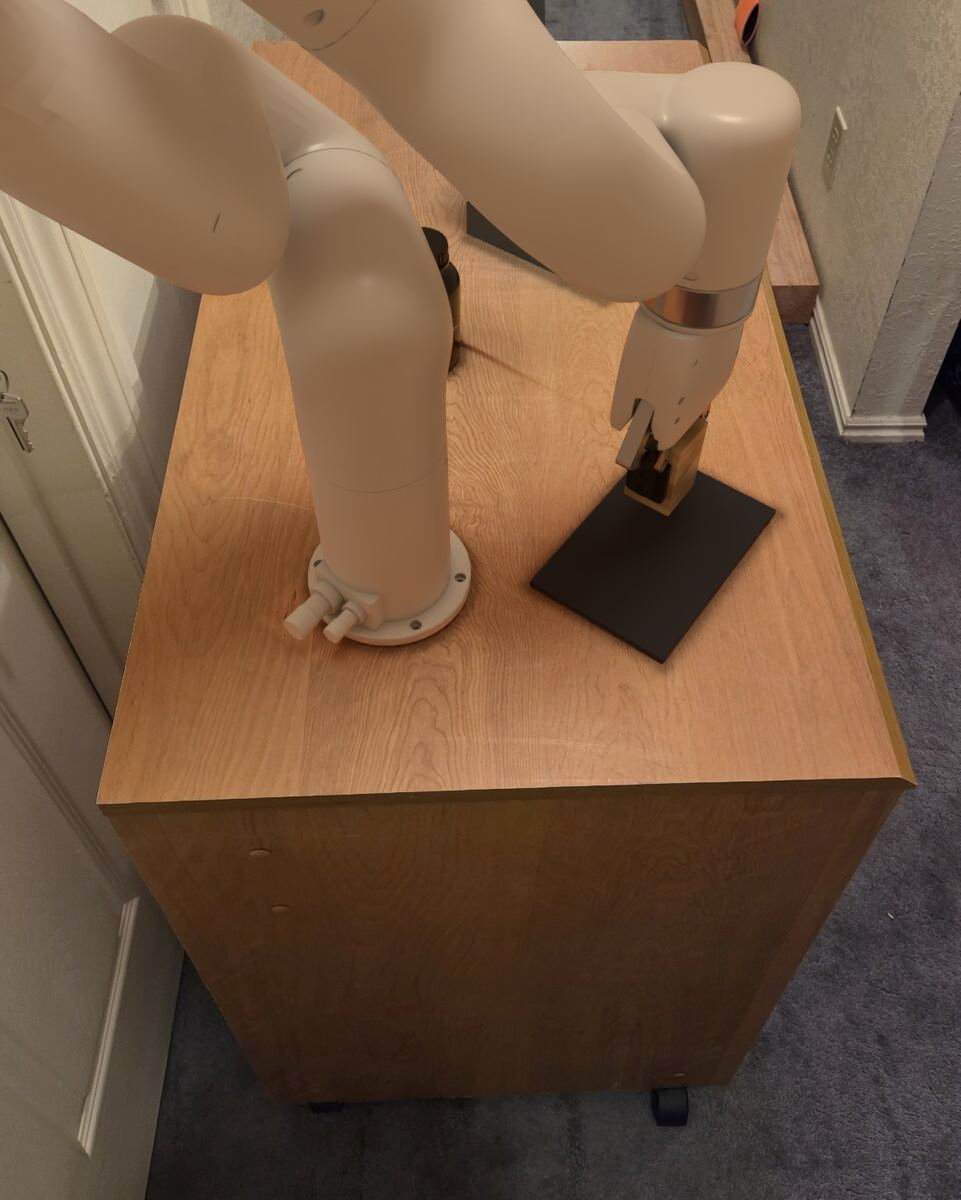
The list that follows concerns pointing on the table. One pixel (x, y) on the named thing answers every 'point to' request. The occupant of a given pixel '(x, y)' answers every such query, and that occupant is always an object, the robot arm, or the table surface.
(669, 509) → the block
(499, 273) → the table surface
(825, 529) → the table surface
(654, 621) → the mat
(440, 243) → the supplement bottle
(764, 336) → the table surface
